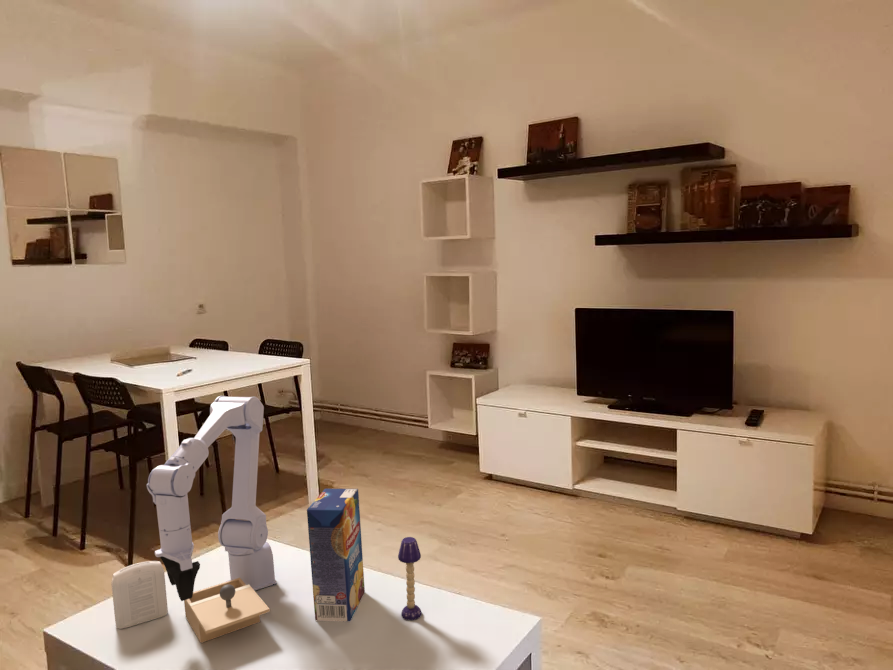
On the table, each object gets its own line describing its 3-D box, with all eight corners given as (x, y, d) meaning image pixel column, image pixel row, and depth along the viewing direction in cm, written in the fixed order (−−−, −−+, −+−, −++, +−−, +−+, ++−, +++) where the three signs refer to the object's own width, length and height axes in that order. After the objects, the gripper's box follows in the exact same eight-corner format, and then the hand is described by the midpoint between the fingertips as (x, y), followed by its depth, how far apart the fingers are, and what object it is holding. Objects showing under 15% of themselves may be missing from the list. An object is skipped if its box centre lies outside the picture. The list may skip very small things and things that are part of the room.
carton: (241, 598, 150) (239, 577, 149) (260, 621, 140) (258, 599, 139) (185, 616, 143) (183, 595, 142) (200, 643, 133) (198, 619, 132)
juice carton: (350, 622, 138) (342, 510, 135) (315, 620, 139) (306, 510, 136) (364, 592, 150) (358, 488, 147) (332, 591, 151) (325, 488, 148)
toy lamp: (427, 611, 141) (423, 535, 139) (418, 623, 136) (414, 545, 134) (406, 608, 143) (402, 533, 140) (396, 619, 138) (392, 542, 136)
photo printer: (166, 607, 147) (160, 553, 146) (170, 615, 144) (164, 560, 142) (114, 623, 142) (107, 567, 140) (117, 632, 138) (110, 575, 137)
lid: (249, 587, 144) (247, 564, 144) (269, 611, 134) (267, 587, 133) (189, 606, 137) (187, 583, 137) (206, 634, 127) (203, 608, 127)
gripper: (145, 519, 135) (152, 583, 137) (161, 543, 123) (168, 613, 125) (181, 510, 139) (188, 572, 141) (200, 533, 127) (207, 600, 129)
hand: (181, 590), depth 133 cm, fingers open, 7 cm apart
